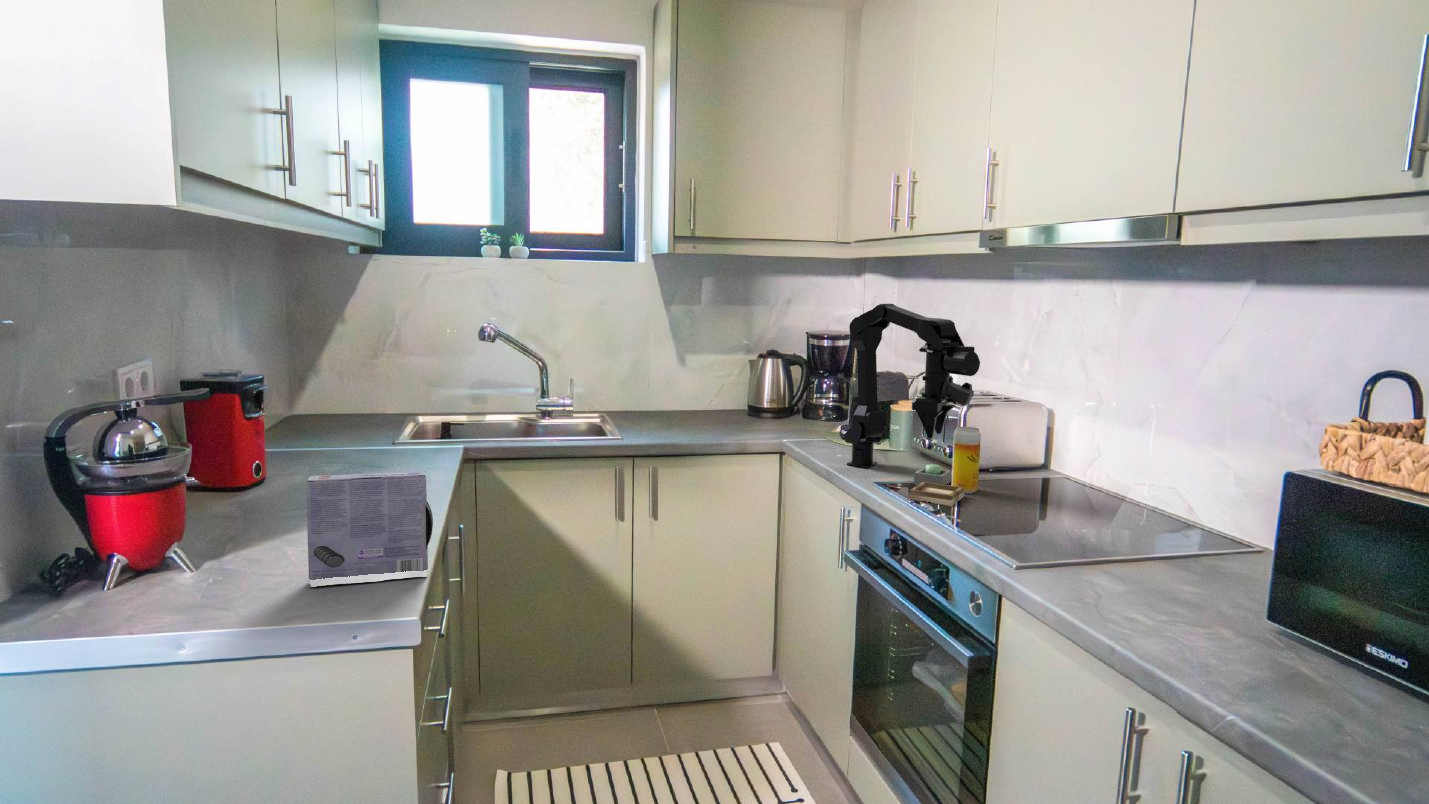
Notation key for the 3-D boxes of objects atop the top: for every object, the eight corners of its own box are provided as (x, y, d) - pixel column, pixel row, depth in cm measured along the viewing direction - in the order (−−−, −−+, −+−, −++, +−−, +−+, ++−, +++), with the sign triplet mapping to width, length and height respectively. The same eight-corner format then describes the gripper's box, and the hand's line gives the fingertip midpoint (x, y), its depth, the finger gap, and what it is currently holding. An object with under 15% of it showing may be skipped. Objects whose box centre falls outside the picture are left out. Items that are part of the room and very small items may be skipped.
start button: (927, 473, 214) (928, 463, 214) (942, 474, 212) (942, 465, 212) (923, 475, 211) (923, 466, 211) (937, 477, 209) (938, 468, 209)
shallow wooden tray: (922, 490, 205) (922, 481, 205) (964, 496, 200) (964, 487, 200) (908, 499, 197) (908, 490, 196) (951, 505, 191) (952, 496, 191)
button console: (922, 479, 217) (923, 467, 216) (950, 482, 213) (951, 470, 212) (913, 484, 211) (914, 472, 210) (942, 488, 207) (942, 476, 207)
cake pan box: (434, 568, 148) (430, 467, 146) (435, 577, 144) (431, 474, 141) (312, 579, 142) (305, 474, 140) (308, 590, 137) (301, 482, 135)
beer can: (978, 494, 202) (982, 431, 200) (951, 493, 203) (955, 430, 201) (976, 488, 208) (979, 426, 205) (950, 486, 209) (953, 425, 207)
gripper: (959, 378, 196) (956, 445, 198) (981, 370, 211) (978, 433, 214) (912, 374, 201) (909, 440, 204) (936, 367, 217) (933, 428, 219)
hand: (934, 435), depth 210 cm, fingers open, 6 cm apart
